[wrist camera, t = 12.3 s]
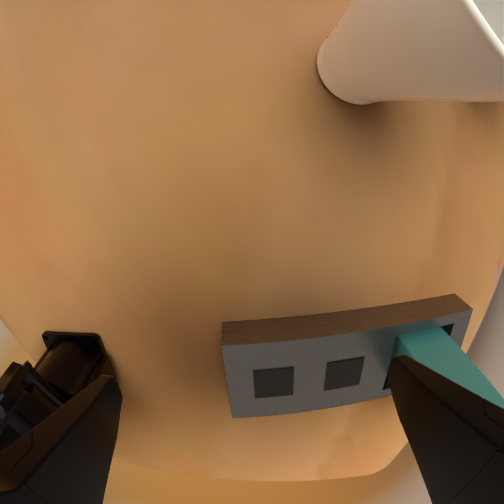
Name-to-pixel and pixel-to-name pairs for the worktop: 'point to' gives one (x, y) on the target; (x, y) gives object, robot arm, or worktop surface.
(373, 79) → the drinking glass
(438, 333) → the teal peg
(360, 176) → the worktop surface
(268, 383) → the grey peg board
